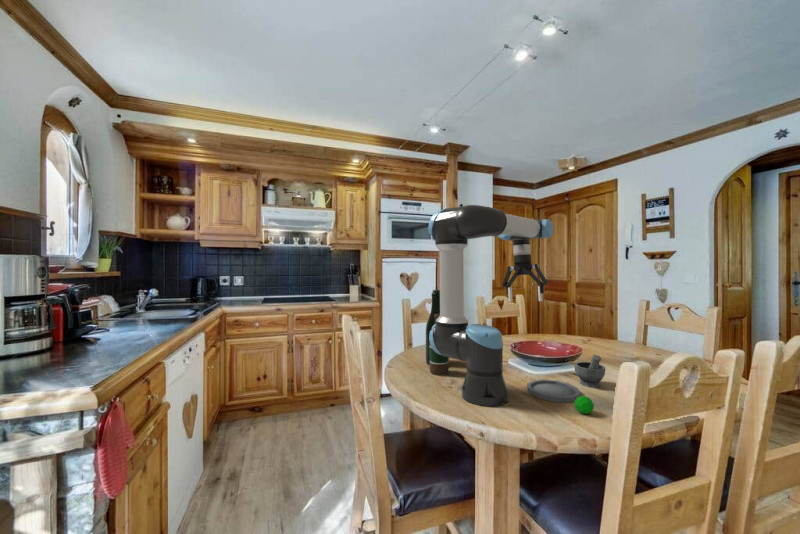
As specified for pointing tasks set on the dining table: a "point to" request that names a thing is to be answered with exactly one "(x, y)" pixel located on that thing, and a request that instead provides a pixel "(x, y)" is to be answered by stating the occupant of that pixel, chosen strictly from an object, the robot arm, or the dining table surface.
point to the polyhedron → (584, 404)
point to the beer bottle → (438, 360)
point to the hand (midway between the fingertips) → (525, 301)
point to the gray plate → (553, 390)
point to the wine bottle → (432, 321)
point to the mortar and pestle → (590, 372)
